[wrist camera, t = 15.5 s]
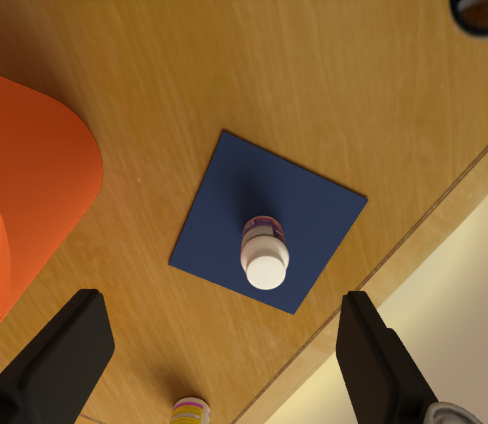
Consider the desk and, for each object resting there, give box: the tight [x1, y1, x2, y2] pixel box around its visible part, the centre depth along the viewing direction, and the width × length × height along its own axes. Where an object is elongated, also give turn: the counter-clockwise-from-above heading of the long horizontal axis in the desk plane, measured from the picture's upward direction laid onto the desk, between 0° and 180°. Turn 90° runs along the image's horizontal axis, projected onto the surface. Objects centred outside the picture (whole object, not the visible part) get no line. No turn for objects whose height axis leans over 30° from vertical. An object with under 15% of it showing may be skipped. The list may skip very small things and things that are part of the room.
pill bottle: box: [241, 216, 289, 290], centre depth 33 cm, size 5×5×10 cm
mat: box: [168, 131, 368, 315], centre depth 37 cm, size 20×20×1 cm
